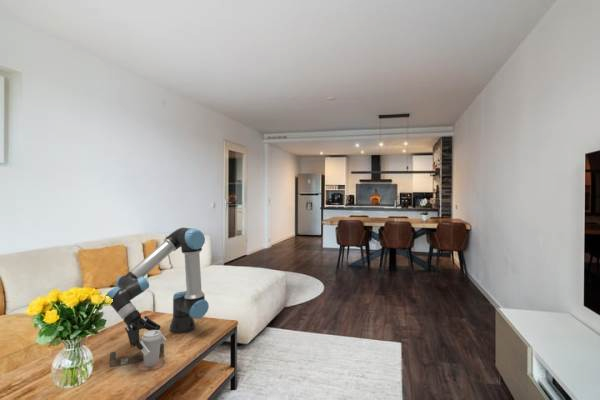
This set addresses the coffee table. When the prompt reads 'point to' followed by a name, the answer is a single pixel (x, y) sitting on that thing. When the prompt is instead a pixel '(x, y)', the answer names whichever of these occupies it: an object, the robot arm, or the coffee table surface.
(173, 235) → the robot arm
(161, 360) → the rail
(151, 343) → the coffee cup
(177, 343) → the coffee table surface
